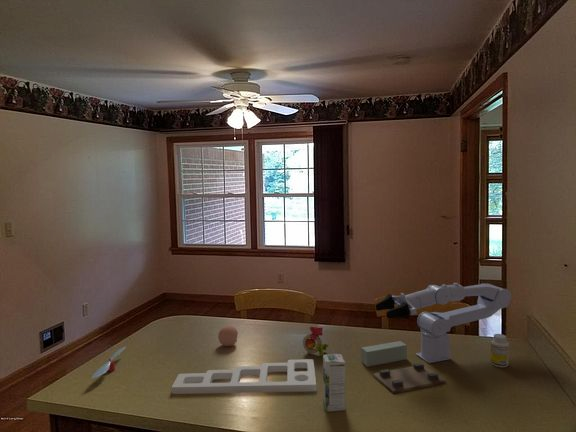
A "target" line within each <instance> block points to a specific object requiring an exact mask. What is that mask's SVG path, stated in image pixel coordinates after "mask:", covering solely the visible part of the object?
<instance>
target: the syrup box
mask: <svg viewBox="0 0 576 432" xmlns="http://www.w3.org/2000/svg"><path fill="white" fill-rule="evenodd" d="M322 402H323V406H324V410H325V412H328V413H329V412H341V411H346V361H345V359H344V357H343V355H342V354H339V353H329V354H323V355H322Z"/></svg>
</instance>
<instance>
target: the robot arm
mask: <svg viewBox="0 0 576 432" xmlns="http://www.w3.org/2000/svg"><path fill="white" fill-rule="evenodd" d="M473 296H474V297H478V298H477V301H476V303H477V304H474V305H470V306H466V307H461V308H457V309H454V310H453V309H452V310H450V311H449V310H448V311H445V312H439V311H438V312H437V311H433V312H429V311H422V312H420V314H419V315H418V316H417V320H416V323H417V325H418V327H419V328H420V351H419V352H416V353H415V355H416V356H417V357H419V358H421V359H422V360H423V361H425V362H426V363H428V364H432V363H437V362H438V363H439V362H442V361H448V360H452V357H451V356H450V350H451V349H450V348H451V347H450V346H451V343H450V341H451V339H450V337H449V335H448V334H447V333H449V332H451V328H452V327H456V326H460V325H464V324H467V323H471V322H476V321H480V320H483V319H488V318H490V317H492V316H493V315H494V314H496V313H497V312H499V311H500V310H501V309H505V308H508V306H509V304H510V303H511V299H512V293H511V292H510V290H509V289H506V288H502V287H500V286H497V285H494V284H491V283H490V282H489V283H480V284H474V285H468V286H463V285H461V284H459V283H458V282H453V284H447V285H446V284H445V283H443V284H442V285H440V286H439V285H437V284H430V285H428V286H427V288H426V289H422V290H419V291H415V292H411V293H408V294H406V293H403V292H401V293H400V295H393V294H391V293H389V294H386V296H385V297H384V298H383V299H382V300H380V301H378V302H377V303H376V304H374V306H375V310H376V311H377V312H378V311H383V310H387V311H386V313H385V314H386V319H405V320H409V319H410V316H414V315H417V314H418V312H417V310H420V309H422V308H426V307H429V306H432V305H435V304H439V305H447V303H449V302H455V301H462V300H464V299H465V298H466V297H473ZM395 305H396V307H395Z"/></svg>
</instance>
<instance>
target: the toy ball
mask: <svg viewBox="0 0 576 432" xmlns="http://www.w3.org/2000/svg"><path fill="white" fill-rule="evenodd" d="M238 334H239V332H238V329H236V327H235V326H233V325H225V326H223V327H222V328H221V329H220V330H219V331H218V334H217V339H218V342H219V343H220V344H221V345H223V346H225V347H232V346H233V345H235V344H236V343H237V341H238Z"/></svg>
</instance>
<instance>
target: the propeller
mask: <svg viewBox="0 0 576 432" xmlns="http://www.w3.org/2000/svg"><path fill="white" fill-rule="evenodd" d="M126 347H127V346H123V347H121V348H120V349H118V350H117V351H115V352H114V353H113V354H112V355H111V357H110V358H109V359H108V360H107V362H106V363H104V364H103V365H102V366H100V367H99V368H98V369H97V370H96V371H95V372H94V373H93V375H92V376H91V379H96V378H98V377H100V376H102V375H104V374H106V373H109V372H113V371H115V369H116V366H115V361H113V360H114V359H115V358H116V357H117V356H119V355H120V354H121V353H122V352H123V351H124V350H125V349H126Z"/></svg>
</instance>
